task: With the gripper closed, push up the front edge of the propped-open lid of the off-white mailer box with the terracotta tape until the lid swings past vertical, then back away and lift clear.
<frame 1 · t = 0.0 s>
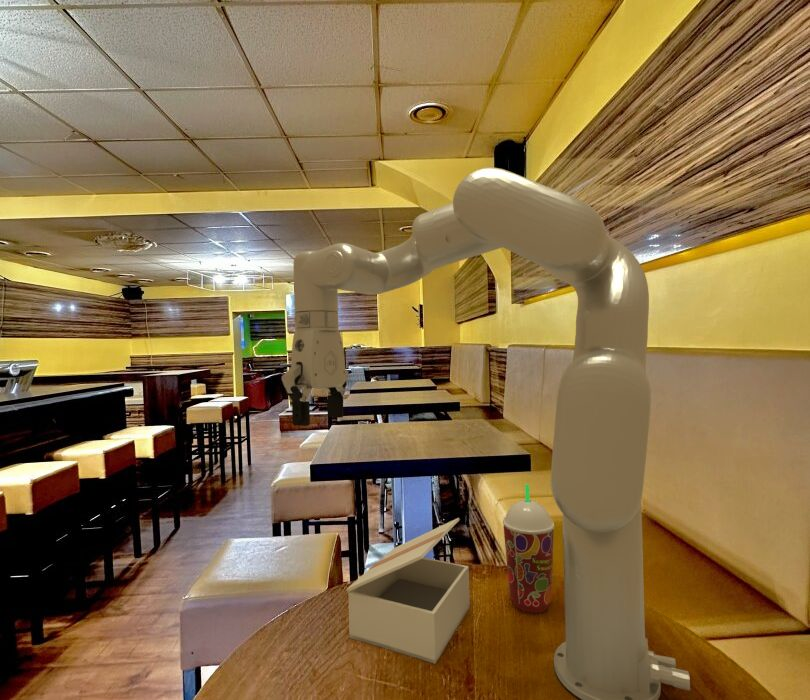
hand: (319, 421, 79), 31 cm above the table, fingers open, 9 cm apart
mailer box: (412, 621, 71), on the table
lid: (406, 552, 72), point 11 cm above the table, hinge at 30.0°
smoothie: (530, 605, 75), on the table
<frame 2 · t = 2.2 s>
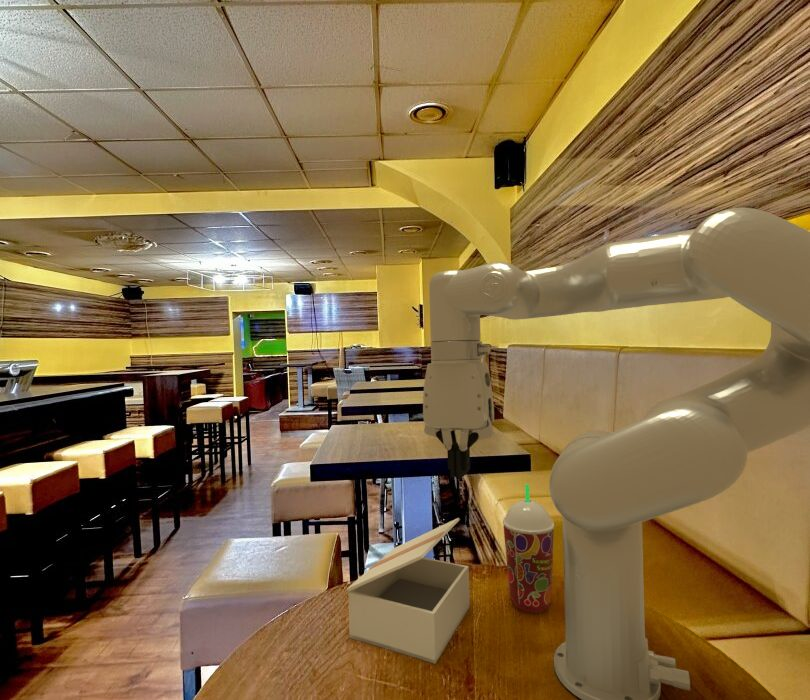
hand: (459, 474, 68), 24 cm above the table, fingers closed
nothing on the table moved.
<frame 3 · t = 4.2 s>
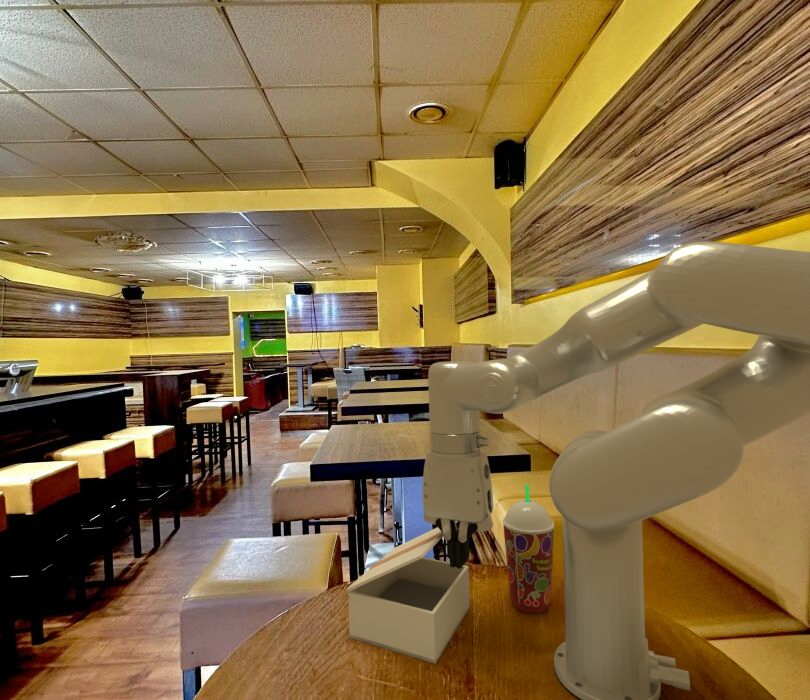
hand: (458, 564, 68), 11 cm above the table, fingers closed
lid: (406, 552, 72), point 11 cm above the table, hinge at 30.2°, touching gripper
everything else where it was.
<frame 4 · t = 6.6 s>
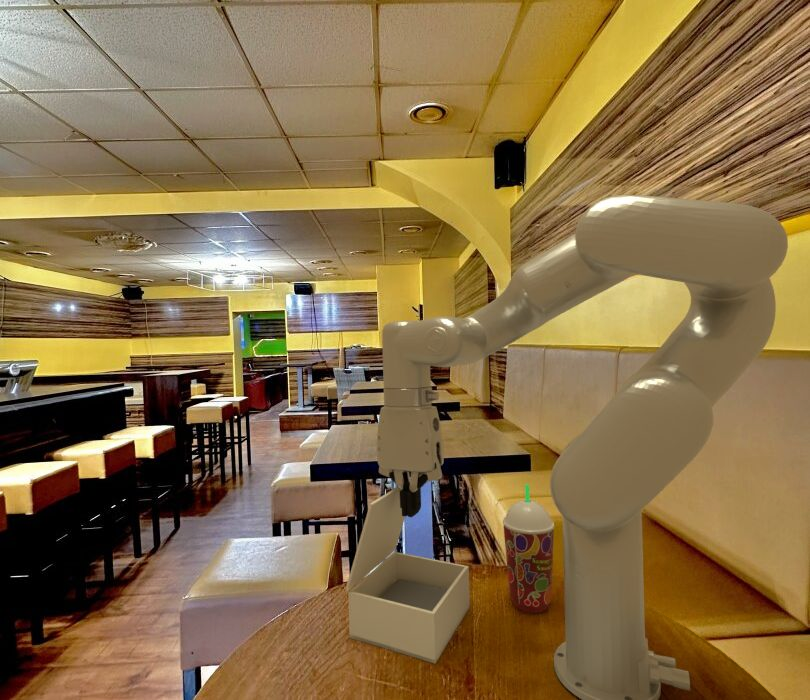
hand: (410, 513, 71), 17 cm above the table, fingers closed
lid: (383, 529, 73), point 14 cm above the table, hinge at 70.9°, touching gripper
everything else where it was.
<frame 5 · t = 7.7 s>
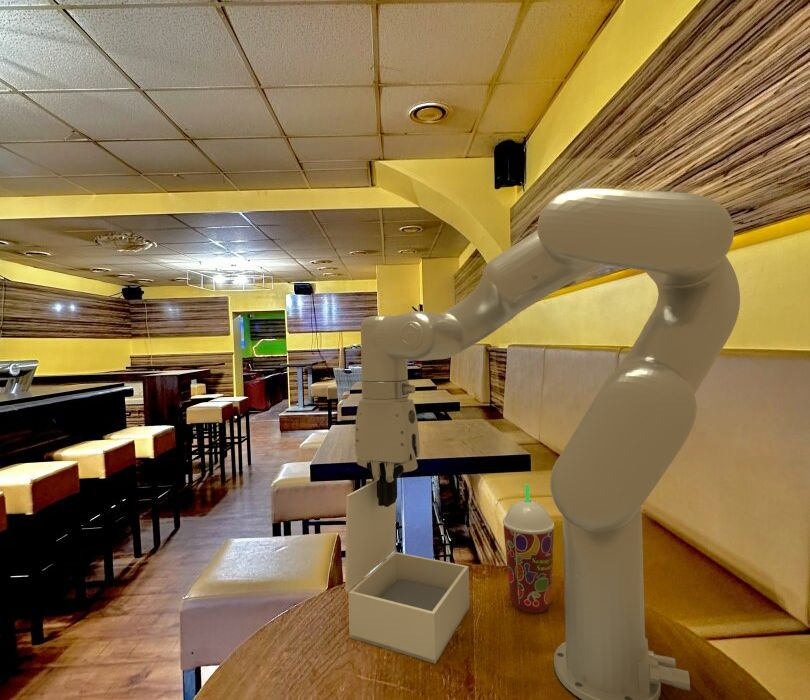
hand: (387, 503, 73), 18 cm above the table, fingers closed
lid: (372, 525, 74), point 14 cm above the table, hinge at 87.3°, touching gripper
everything else where it was.
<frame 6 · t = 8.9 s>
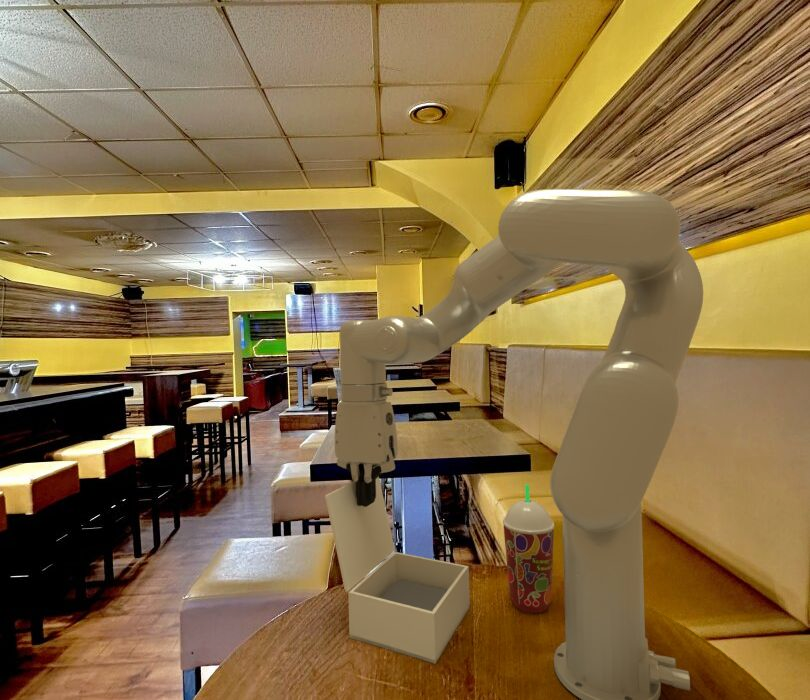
hand: (366, 503, 75), 18 cm above the table, fingers closed
lid: (362, 525, 75), point 14 cm above the table, hinge at 103.3°, touching gripper
everything else where it was.
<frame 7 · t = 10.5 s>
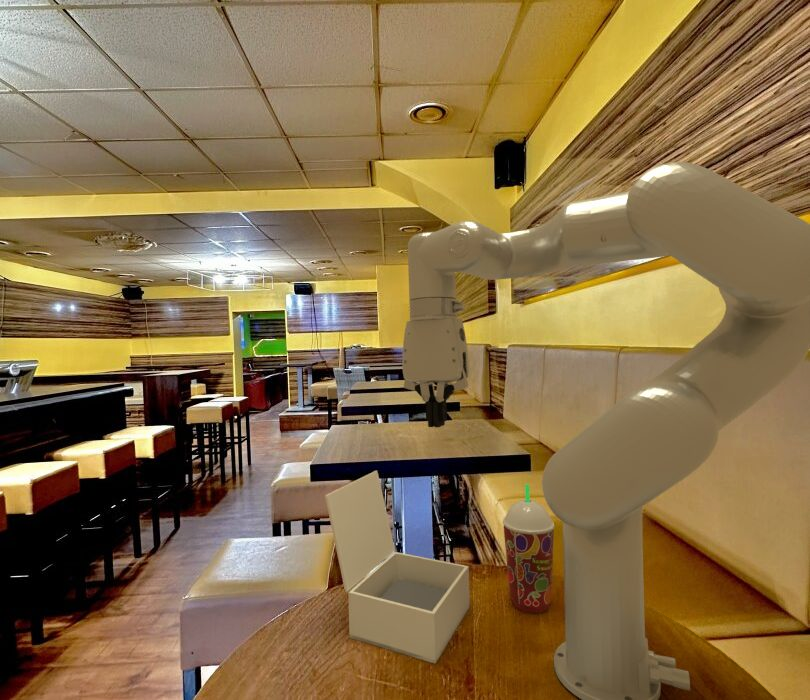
hand: (436, 425, 72), 31 cm above the table, fingers closed
lid: (362, 525, 75), point 14 cm above the table, hinge at 103.3°
everything else where it was.
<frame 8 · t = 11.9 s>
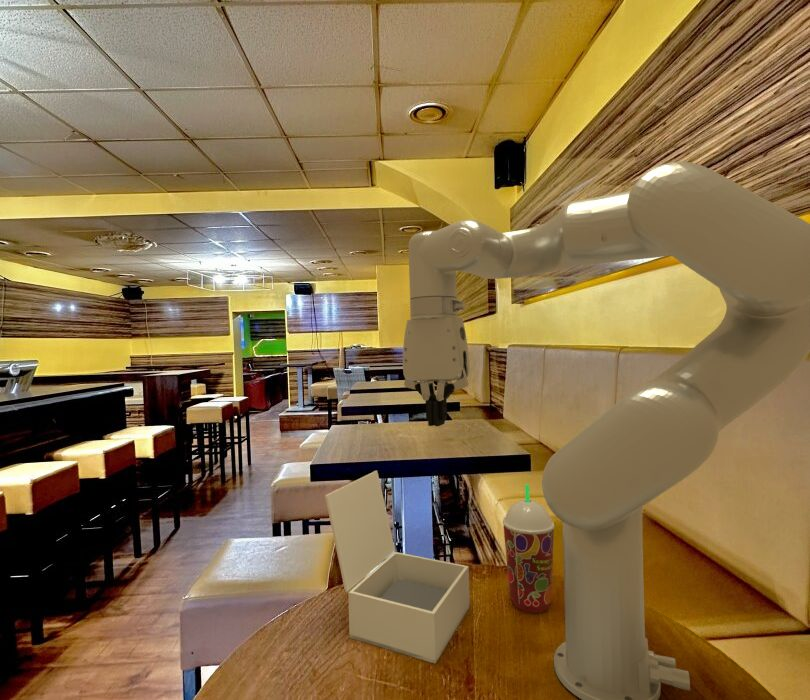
hand: (436, 424, 72), 31 cm above the table, fingers closed
nothing on the table moved.
at the end: lid at +103° (first picture: +30°) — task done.
